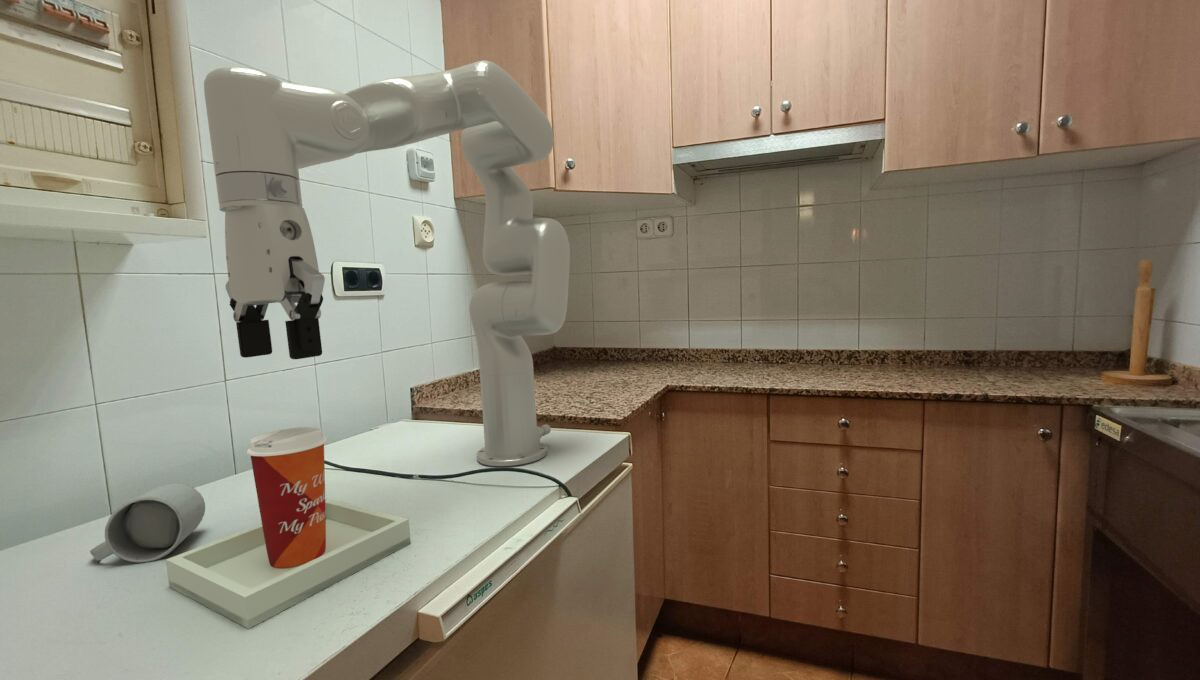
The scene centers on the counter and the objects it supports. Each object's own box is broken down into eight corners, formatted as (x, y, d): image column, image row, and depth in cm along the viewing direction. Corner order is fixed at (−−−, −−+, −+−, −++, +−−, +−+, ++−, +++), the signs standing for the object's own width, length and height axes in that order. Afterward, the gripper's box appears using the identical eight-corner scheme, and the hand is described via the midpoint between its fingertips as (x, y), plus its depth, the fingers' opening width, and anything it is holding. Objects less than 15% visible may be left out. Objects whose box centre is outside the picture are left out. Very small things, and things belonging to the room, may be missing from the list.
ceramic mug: (212, 528, 70) (205, 472, 70) (186, 555, 63) (177, 493, 62) (115, 545, 67) (106, 486, 66) (74, 576, 59) (64, 510, 59)
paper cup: (302, 575, 55) (289, 444, 54) (240, 571, 56) (227, 443, 55) (351, 541, 62) (341, 425, 61) (295, 538, 64) (285, 425, 63)
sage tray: (330, 520, 71) (328, 498, 71) (410, 543, 63) (408, 519, 63) (169, 586, 56) (165, 559, 55) (248, 629, 47) (245, 597, 47)
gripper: (343, 190, 55) (361, 353, 57) (255, 210, 63) (273, 351, 65) (268, 180, 48) (290, 364, 50) (181, 204, 57) (203, 360, 59)
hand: (280, 356), depth 58 cm, fingers open, 9 cm apart
